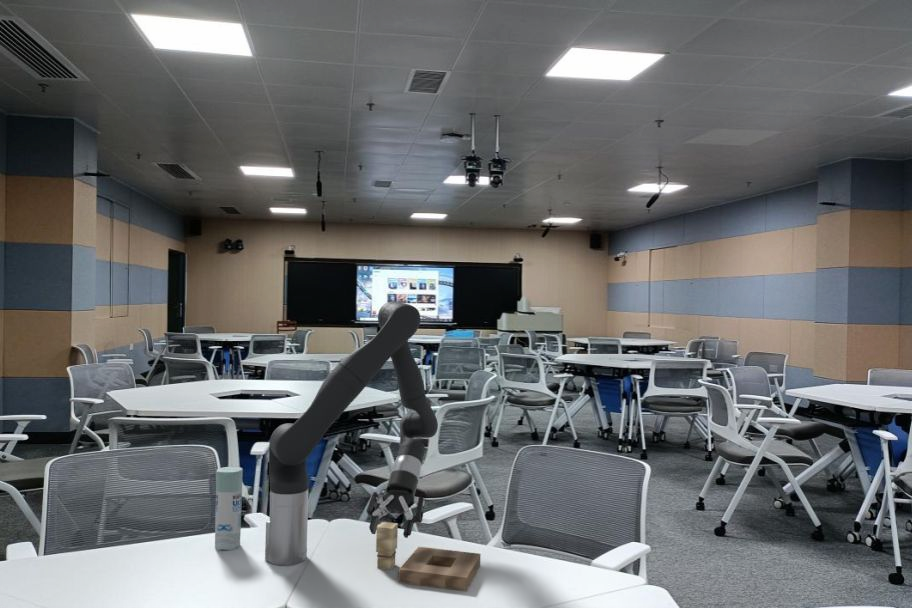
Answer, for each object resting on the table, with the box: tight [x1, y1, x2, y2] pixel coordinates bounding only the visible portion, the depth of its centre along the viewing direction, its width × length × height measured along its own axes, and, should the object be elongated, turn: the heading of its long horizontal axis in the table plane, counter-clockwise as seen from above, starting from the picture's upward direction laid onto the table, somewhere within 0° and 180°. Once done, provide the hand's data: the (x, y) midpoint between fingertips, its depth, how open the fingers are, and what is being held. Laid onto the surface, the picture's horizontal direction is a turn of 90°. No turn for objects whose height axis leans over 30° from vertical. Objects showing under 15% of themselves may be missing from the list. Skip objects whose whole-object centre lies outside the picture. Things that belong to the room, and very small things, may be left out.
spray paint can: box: [214, 466, 244, 551], centre depth 168 cm, size 6×6×20 cm
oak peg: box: [375, 521, 399, 571], centre depth 157 cm, size 4×4×10 cm
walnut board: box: [398, 546, 482, 592], centre depth 153 cm, size 16×15×3 cm
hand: (388, 534), depth 158 cm, fingers open, 8 cm apart
